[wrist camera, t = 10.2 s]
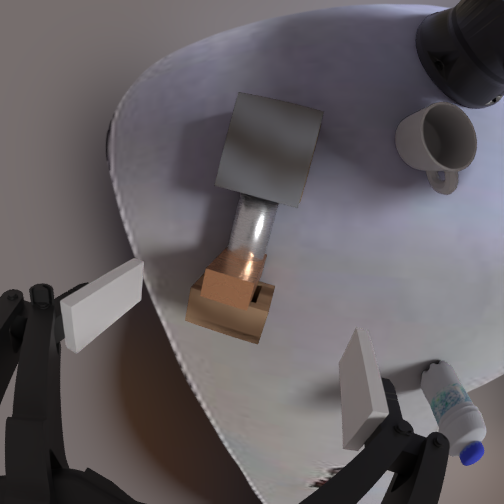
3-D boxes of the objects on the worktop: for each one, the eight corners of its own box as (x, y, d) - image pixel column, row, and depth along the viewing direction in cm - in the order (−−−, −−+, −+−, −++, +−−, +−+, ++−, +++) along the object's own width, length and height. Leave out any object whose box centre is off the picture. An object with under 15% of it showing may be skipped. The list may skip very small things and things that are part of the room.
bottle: (439, 387, 38) (476, 472, 19) (410, 386, 39) (442, 479, 20) (457, 357, 36) (506, 440, 17) (427, 354, 37) (474, 446, 18)
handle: (250, 161, 33) (231, 157, 24) (289, 171, 33) (285, 170, 24) (218, 295, 39) (193, 332, 29) (252, 306, 38) (236, 346, 29)
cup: (433, 113, 29) (466, 100, 20) (451, 187, 31) (487, 192, 22) (386, 119, 30) (411, 104, 22) (406, 196, 32) (435, 204, 24)
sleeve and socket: (249, 107, 33) (236, 91, 25) (320, 124, 32) (325, 111, 25) (204, 295, 40) (185, 320, 33) (266, 314, 40) (257, 344, 32)
